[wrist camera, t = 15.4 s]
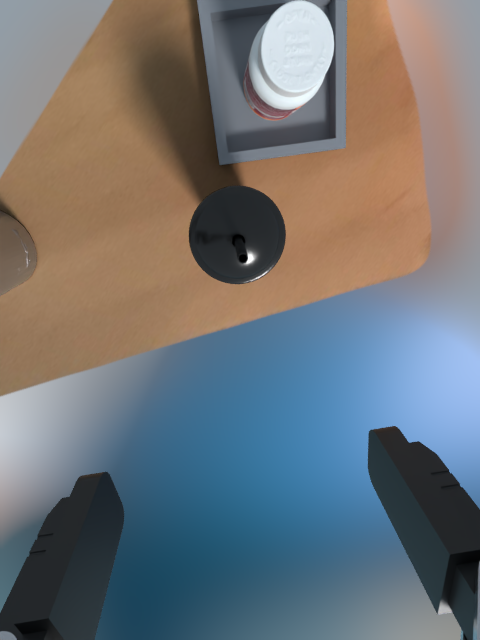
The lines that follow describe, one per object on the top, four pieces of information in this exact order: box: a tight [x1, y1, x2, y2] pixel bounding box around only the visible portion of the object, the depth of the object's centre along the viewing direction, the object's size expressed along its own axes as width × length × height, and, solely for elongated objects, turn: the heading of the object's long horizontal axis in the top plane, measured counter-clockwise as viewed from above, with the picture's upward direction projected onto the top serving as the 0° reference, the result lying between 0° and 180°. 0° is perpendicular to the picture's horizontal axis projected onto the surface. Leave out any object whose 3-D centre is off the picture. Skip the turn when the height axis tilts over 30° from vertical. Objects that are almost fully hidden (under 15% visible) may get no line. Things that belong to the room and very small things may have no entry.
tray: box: [197, 0, 347, 165], centre depth 33 cm, size 13×13×2 cm
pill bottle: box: [243, 0, 334, 121], centre depth 28 cm, size 6×6×11 cm
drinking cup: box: [189, 186, 286, 284], centre depth 30 cm, size 8×8×20 cm
